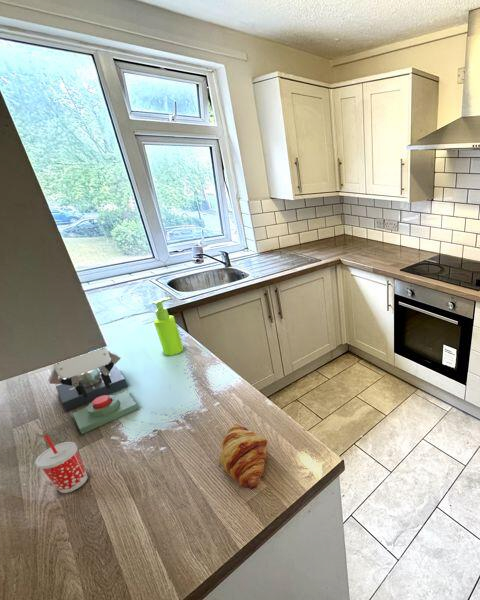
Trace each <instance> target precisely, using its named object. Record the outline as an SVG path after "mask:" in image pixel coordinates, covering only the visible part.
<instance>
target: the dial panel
mask: <svg viewBox="0 0 480 600" xmlns="http://www.w3.org/2000/svg"><path fill="white" fill-rule="evenodd" d="M98 371H99V373H100V372H101V371H100V370H98ZM100 374H101V373H100ZM109 377H110V379H111V381H112V383H110V384H109V385H110V387H111V388H109V389H107V388H106V386H105V384H104V382H103V380H101V381H100V382H99V383H97V384H96V385H93V386H90V387H86V388H84V389H85V391H86V393H87V395H88V397H87V398H84V396H83V394H82V395H80V396H79V394H78V392H77V390H76V388H75V387H73V386H70V385H64V384H57V385H56V386H55V389H56V391H57V393H58V396H59V399H60V401H61V403H62V405H63V407H64V409H65V411H66V412H68V411H71V410H74V409H76V408H78V407H80V406H84V405H86V404H89V403H92V401H93V400H94V399H96V398H98V397H100V396H103V395H108V396H109V395H111V394H113V393H115V392H118V391H120V390H122V389H125V388H128V387H129V386H128V383H127V380H126V378H125V376H124V375H123V374H122V373H121V371H120V370H119V368H118V367H117V366H116V364H114V366H113V368H112V369H111V370H110V372H109Z"/></svg>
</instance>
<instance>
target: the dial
mask: <svg viewBox="0 0 480 600" xmlns="http://www.w3.org/2000/svg"><path fill="white" fill-rule="evenodd" d="M99 371H100V370H99V369H98V368H96V369H93V370H90V371H88V372H85V373H82V374H79V375H78V380H79V381H81V383H82V385H83V387H84V388H86V387H90V386H93V385H96V384H97V383H99V382H100V381H101V380H102V378H101V375H100V373H99Z"/></svg>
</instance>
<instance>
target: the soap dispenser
mask: <svg viewBox="0 0 480 600" xmlns="http://www.w3.org/2000/svg"><path fill="white" fill-rule="evenodd" d="M172 300H173V298H171V297H163V298H159V299H157V300H155V301H152V305H156V309H155V311H154V313H155V315H156V318H155V319H154V320H153V324H154V327H155V330H156V332H157V335H158V337H159V338H158V339H159V341H160V344H161V347H162V350H163V353H164V355H166V356H175V355H177V354H180V353H182V352H183V351H184V345H183V342H182V339H181V335H180V333H179V329H178V325H177V322H176V319H175V316H174V315H170V314H169V311H168V308H166V307H164V305H163V303H164V302H168V301H172Z"/></svg>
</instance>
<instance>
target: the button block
mask: <svg viewBox="0 0 480 600" xmlns="http://www.w3.org/2000/svg"><path fill="white" fill-rule="evenodd" d="M108 396H109V397H110V399H111V403H110V404H109V405H107V406H105V407H103V408H99V409H95V408H94V406H93V404H92V402H89V403H88V405H87V406H86V407H84V408H82V409H79V410H76V411H74V412H72V415H73V418H74V420H75V422H76V423H75V424H76V425H77V427H78V429H79V432H80V434H82V435H84V434H86V433H88V432H90V431H93V430H95V429H97V428H99V427H101V426H103V425H107V424H108V423H110V422H112V421H115V420H117V419H119V418H121V417H123V416H126V415H128V414H129V413H132V412H134V411H136V410H138V409H139V407H138V405H137V403H136V401H135V400H134V399H133V397H132V396H131V394H130V393H129V391H128V390H124V391H122V392H119V393H117V394H114V395H113V394H108Z"/></svg>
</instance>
